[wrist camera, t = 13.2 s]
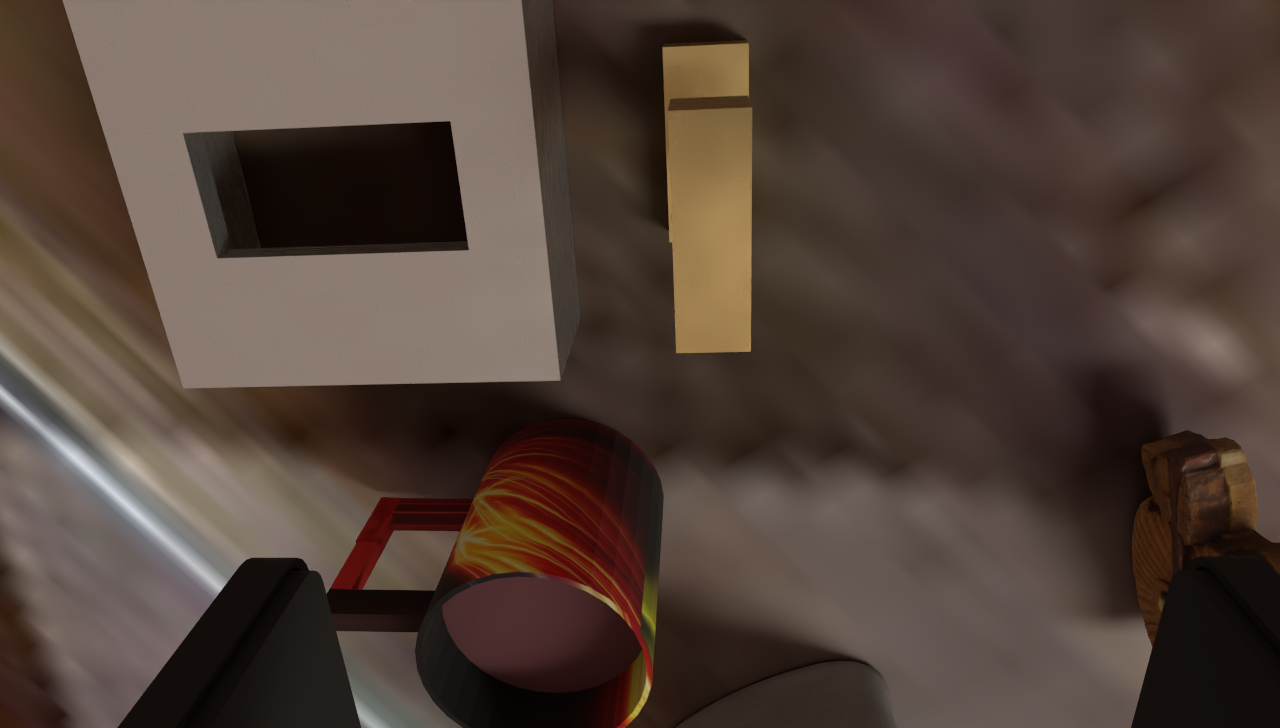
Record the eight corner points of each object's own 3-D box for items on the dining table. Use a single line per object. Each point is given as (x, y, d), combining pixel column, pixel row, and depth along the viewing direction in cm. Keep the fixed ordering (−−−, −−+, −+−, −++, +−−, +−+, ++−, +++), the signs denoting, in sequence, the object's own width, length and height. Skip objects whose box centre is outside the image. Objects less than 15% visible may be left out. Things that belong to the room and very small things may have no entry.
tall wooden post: (746, 39, 35) (775, 86, 22) (746, 229, 38) (771, 366, 25) (663, 43, 35) (644, 92, 22) (670, 231, 39) (656, 368, 26)
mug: (382, 487, 46) (284, 651, 35) (610, 389, 42) (580, 537, 32) (475, 616, 49) (413, 802, 38) (694, 535, 46) (693, 713, 35)
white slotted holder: (547, -56, 34) (515, -59, 28) (580, 318, 41) (560, 380, 35) (163, -33, 35) (52, -31, 29) (257, 326, 42) (183, 388, 36)
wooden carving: (1088, 416, 41) (1197, 543, 32) (1189, 389, 40) (1329, 512, 31) (1133, 662, 48) (1234, 826, 39) (1221, 643, 47) (1346, 806, 38)
